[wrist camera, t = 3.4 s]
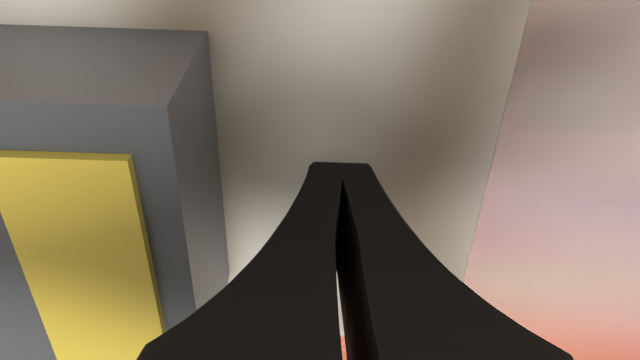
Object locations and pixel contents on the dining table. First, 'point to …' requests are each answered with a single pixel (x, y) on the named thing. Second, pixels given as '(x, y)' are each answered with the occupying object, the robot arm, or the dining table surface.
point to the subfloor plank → (340, 100)
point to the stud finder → (105, 189)
